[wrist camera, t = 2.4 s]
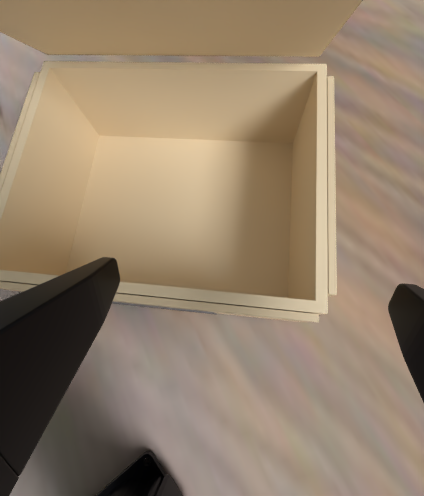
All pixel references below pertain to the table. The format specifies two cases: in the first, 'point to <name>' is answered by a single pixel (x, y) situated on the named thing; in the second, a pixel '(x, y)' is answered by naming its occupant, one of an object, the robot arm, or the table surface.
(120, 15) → the far flap
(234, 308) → the carton
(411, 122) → the table surface
